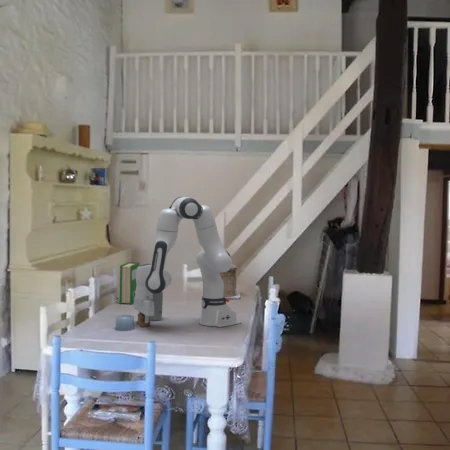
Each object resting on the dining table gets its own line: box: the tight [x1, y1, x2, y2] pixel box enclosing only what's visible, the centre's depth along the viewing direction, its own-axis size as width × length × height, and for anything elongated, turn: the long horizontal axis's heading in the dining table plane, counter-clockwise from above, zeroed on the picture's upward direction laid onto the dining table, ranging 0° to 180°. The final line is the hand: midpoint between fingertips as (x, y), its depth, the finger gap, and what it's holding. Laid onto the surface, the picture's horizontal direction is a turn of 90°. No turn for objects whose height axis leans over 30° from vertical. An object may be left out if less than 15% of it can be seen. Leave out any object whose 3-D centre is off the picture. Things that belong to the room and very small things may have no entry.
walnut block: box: [137, 313, 151, 328], centre depth 281 cm, size 5×5×6 cm
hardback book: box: [119, 261, 140, 305], centre depth 343 cm, size 18×7×24 cm, turn 174°
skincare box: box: [150, 291, 164, 322], centre depth 296 cm, size 8×7×16 cm
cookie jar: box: [220, 250, 241, 300], centre depth 371 cm, size 25×25×32 cm
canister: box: [114, 314, 135, 332], centre depth 274 cm, size 9×9×6 cm
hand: (143, 321), depth 281 cm, fingers open, 5 cm apart
